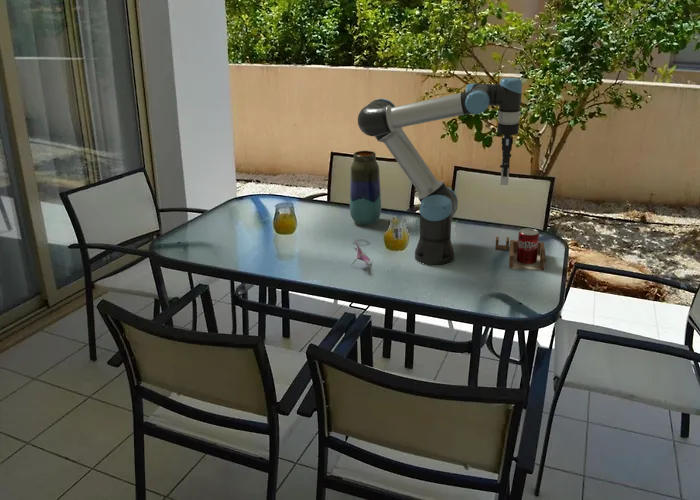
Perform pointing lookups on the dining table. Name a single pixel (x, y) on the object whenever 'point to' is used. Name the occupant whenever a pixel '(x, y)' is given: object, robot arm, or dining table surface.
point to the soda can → (527, 246)
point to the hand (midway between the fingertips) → (504, 179)
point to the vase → (365, 188)
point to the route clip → (502, 247)
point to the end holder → (516, 265)
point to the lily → (361, 254)
